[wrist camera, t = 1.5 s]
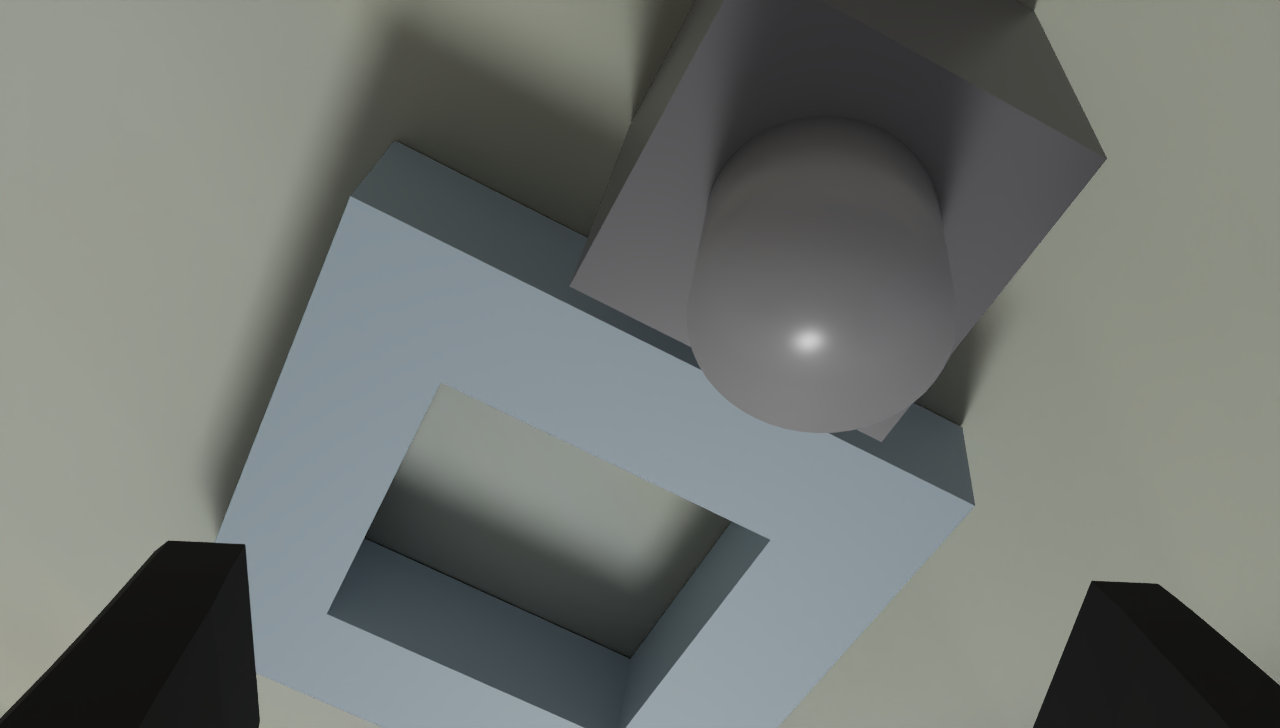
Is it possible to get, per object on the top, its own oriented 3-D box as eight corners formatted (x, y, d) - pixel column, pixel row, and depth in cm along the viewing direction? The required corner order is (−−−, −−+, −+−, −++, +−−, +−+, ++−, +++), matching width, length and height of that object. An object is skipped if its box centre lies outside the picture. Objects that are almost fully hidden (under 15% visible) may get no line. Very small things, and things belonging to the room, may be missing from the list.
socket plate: (394, 140, 18) (350, 195, 16) (962, 427, 19) (974, 505, 18) (223, 564, 23) (176, 638, 22) (678, 765, 25) (668, 850, 23)
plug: (768, -141, 15) (731, 22, 9) (1033, 10, 16) (1153, 252, 10) (631, 121, 17) (531, 385, 12) (869, 245, 18) (888, 559, 12)
